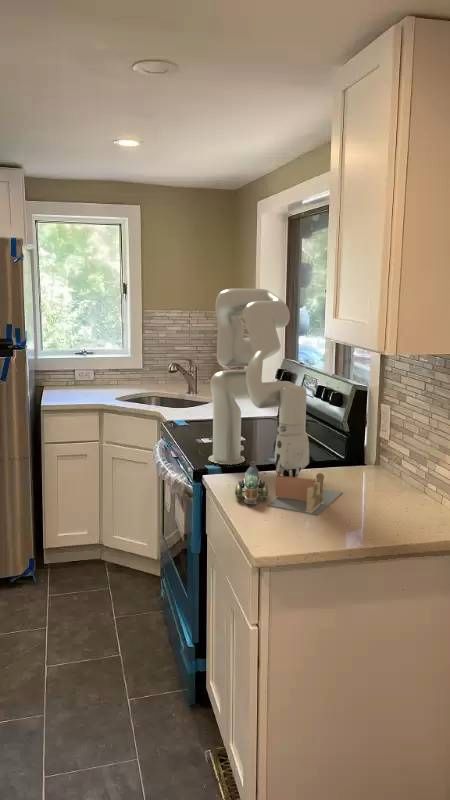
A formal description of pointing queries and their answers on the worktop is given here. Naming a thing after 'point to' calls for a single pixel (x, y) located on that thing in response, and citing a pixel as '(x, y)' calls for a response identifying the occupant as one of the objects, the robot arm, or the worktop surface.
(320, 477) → the fence post
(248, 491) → the hoverbike
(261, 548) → the worktop surface
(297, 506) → the card
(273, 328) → the robot arm
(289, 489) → the fold panel
